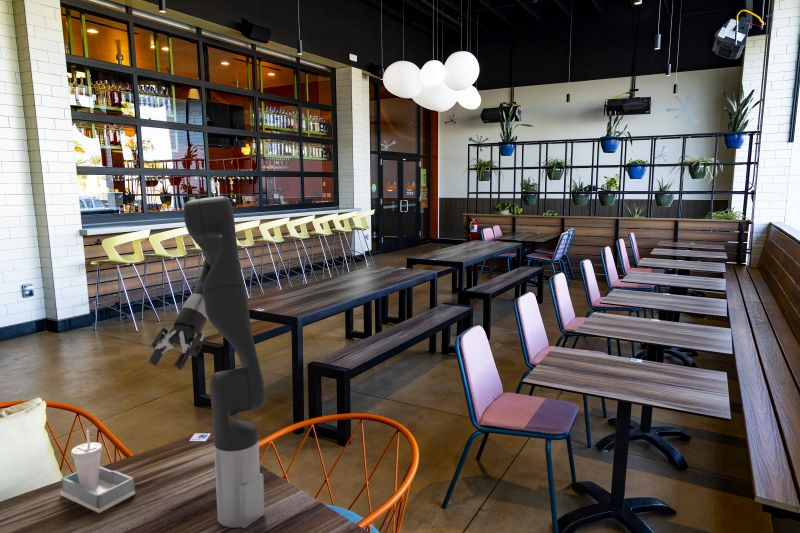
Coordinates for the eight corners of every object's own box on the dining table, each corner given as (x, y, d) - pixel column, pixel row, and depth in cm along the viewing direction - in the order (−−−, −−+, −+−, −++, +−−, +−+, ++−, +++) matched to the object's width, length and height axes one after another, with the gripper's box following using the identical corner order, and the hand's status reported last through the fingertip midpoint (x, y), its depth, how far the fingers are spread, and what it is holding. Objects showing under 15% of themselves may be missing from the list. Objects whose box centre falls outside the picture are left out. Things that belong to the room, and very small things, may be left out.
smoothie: (94, 493, 125) (90, 436, 123) (67, 493, 125) (63, 436, 123) (110, 479, 132) (106, 425, 130) (84, 479, 132) (80, 424, 130)
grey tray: (135, 493, 127) (134, 478, 126) (99, 513, 119) (97, 496, 119) (97, 478, 134) (96, 463, 133) (60, 495, 126) (59, 479, 126)
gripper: (167, 304, 147) (134, 356, 138) (207, 308, 142) (177, 362, 133) (182, 319, 153) (152, 370, 144) (222, 323, 147) (193, 376, 138)
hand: (164, 366), depth 138 cm, fingers open, 8 cm apart
